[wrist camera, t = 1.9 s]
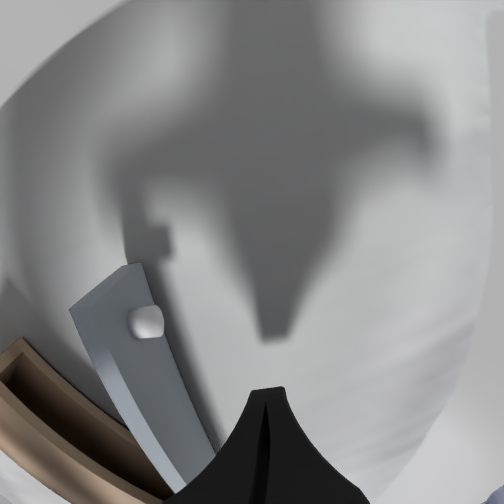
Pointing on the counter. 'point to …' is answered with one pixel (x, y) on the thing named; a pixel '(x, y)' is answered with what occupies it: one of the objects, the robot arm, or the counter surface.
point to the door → (142, 373)
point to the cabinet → (70, 437)
